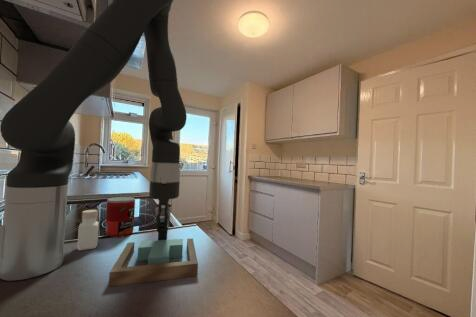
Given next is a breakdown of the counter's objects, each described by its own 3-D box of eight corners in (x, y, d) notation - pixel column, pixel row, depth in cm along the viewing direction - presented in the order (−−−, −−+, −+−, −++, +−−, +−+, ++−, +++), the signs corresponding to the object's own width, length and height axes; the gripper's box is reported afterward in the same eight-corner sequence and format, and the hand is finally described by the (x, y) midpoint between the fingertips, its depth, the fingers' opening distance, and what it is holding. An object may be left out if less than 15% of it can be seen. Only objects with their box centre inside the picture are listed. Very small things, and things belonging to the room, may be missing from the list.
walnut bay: (108, 286, 37) (109, 272, 37) (127, 252, 51) (127, 242, 51) (197, 275, 42) (197, 263, 42) (192, 247, 56) (192, 238, 56)
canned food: (121, 239, 60) (123, 201, 60) (98, 236, 61) (100, 199, 62) (138, 231, 67) (140, 197, 68) (118, 228, 69) (119, 196, 69)
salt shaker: (97, 243, 56) (99, 208, 56) (96, 248, 53) (98, 211, 53) (79, 245, 54) (81, 209, 54) (76, 251, 51) (79, 213, 51)
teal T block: (131, 274, 41) (132, 259, 41) (140, 253, 51) (141, 241, 51) (182, 269, 44) (182, 255, 44) (182, 250, 54) (182, 238, 54)
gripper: (152, 177, 60) (150, 237, 59) (146, 182, 47) (142, 257, 47) (179, 178, 62) (176, 235, 62) (180, 182, 49) (177, 254, 49)
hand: (162, 244), depth 54 cm, fingers closed
